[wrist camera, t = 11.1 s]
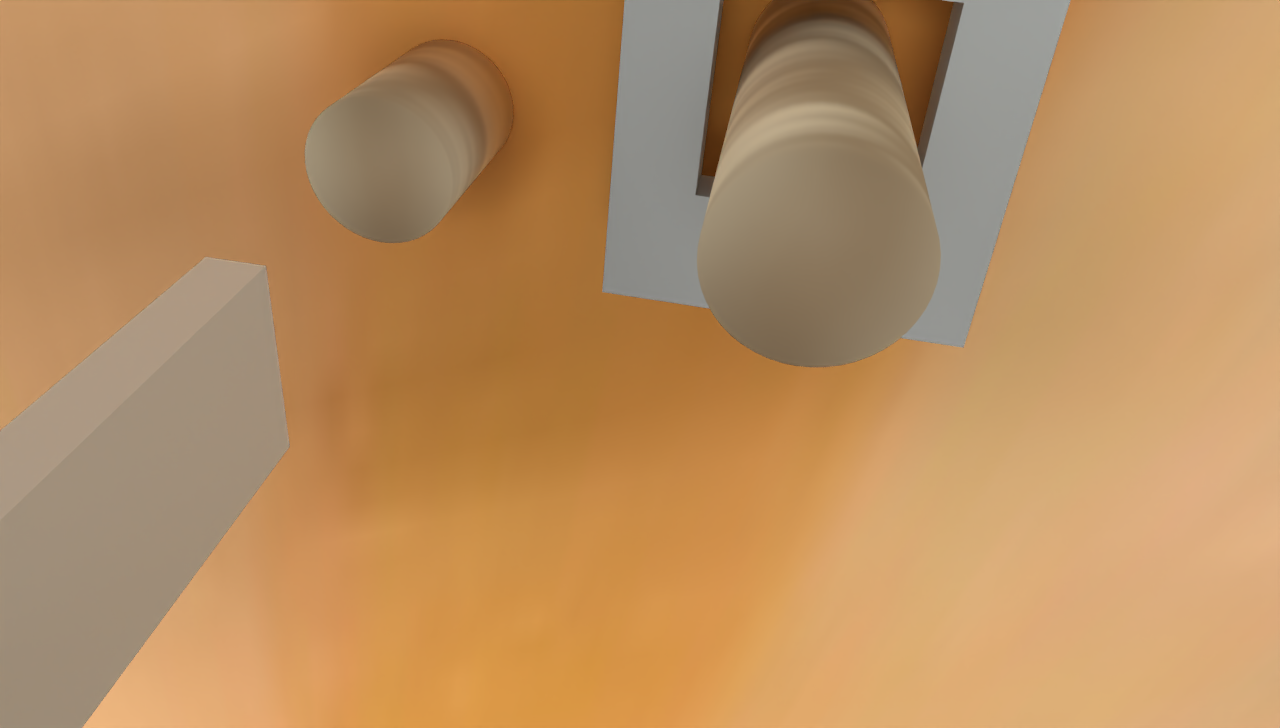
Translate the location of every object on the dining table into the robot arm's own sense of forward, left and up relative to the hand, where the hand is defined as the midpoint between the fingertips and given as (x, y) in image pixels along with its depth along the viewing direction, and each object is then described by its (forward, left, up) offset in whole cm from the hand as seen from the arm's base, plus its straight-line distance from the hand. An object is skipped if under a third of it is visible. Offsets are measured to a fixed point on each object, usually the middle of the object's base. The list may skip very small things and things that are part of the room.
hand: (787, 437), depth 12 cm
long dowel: (0, 0, -19) cm, 19 cm away
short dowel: (-11, -3, -19) cm, 22 cm away
